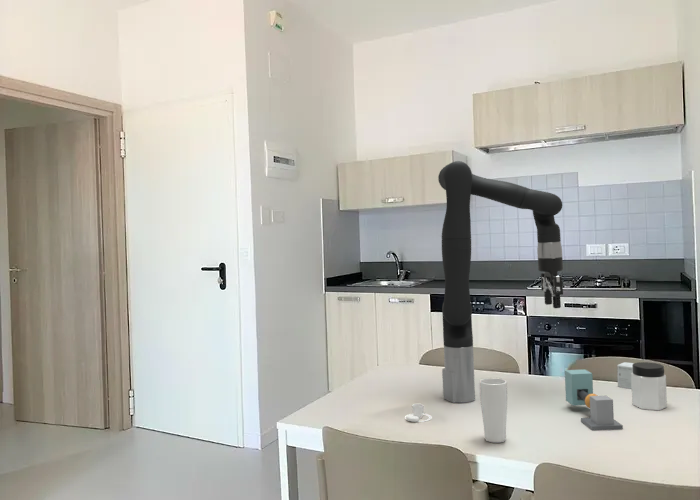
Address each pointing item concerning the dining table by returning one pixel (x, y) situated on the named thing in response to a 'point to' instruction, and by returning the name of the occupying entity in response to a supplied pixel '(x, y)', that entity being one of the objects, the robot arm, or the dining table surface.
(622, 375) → the skincare box
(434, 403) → the dining table surface
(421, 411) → the teacup and saucer
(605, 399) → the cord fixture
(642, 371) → the jar
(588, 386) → the teal block with hole
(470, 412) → the dining table surface
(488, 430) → the drinking glass
